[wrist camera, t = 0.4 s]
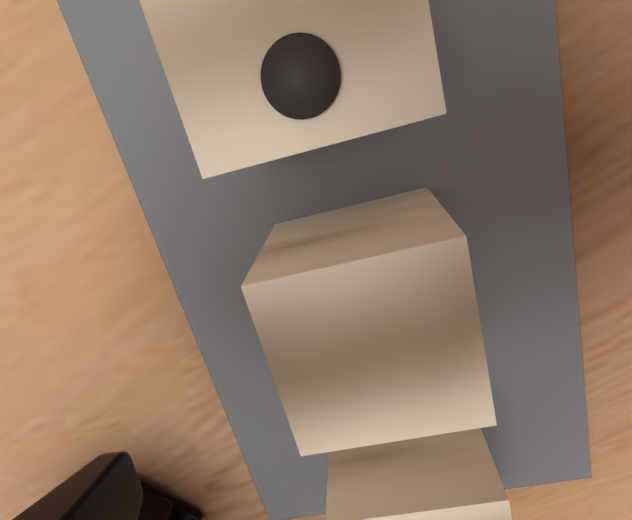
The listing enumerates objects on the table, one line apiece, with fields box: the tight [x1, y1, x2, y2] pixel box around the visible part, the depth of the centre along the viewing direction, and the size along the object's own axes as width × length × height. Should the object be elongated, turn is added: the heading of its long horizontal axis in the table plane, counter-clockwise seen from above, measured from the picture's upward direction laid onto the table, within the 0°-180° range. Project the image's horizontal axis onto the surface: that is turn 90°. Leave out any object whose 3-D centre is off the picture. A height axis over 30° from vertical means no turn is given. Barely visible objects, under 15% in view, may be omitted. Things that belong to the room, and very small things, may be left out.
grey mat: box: [57, 0, 592, 520], centre depth 18 cm, size 25×16×1 cm, turn 15°
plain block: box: [241, 187, 497, 456], centre depth 15 cm, size 6×6×6 cm
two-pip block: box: [139, 0, 447, 179], centre depth 12 cm, size 6×6×6 cm
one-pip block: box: [325, 428, 512, 520], centre depth 18 cm, size 6×6×6 cm
